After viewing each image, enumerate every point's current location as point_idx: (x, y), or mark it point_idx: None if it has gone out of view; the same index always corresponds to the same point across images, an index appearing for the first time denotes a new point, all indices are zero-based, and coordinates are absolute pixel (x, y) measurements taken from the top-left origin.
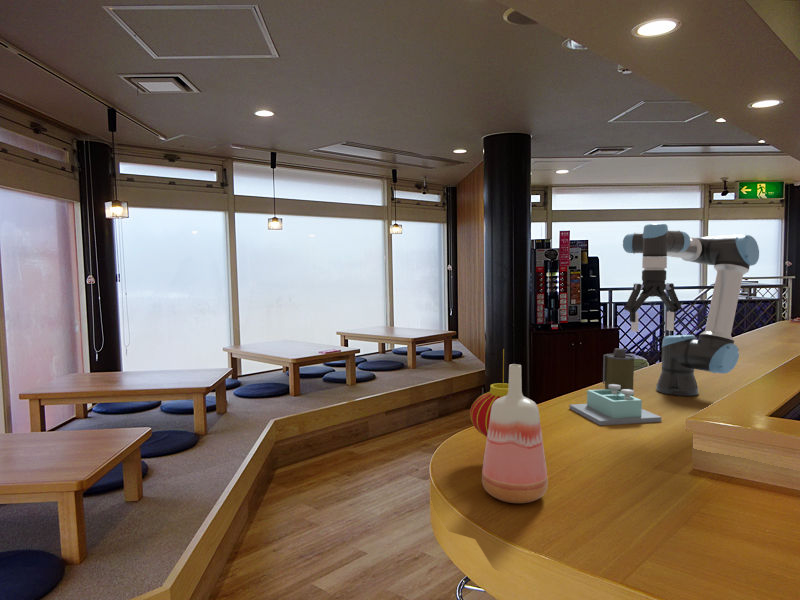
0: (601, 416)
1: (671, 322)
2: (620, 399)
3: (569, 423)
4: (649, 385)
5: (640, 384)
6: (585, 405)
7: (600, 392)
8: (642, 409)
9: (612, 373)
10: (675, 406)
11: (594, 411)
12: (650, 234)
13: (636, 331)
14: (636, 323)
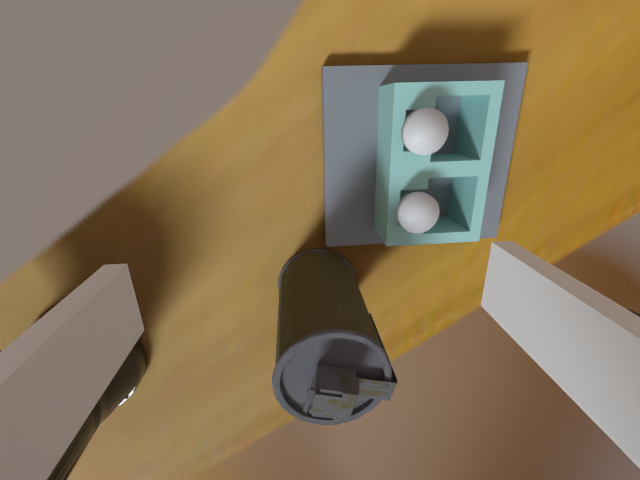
0: None
1: (78, 320)
2: None
3: (582, 100)
4: (136, 418)
5: (157, 428)
6: None
7: (438, 230)
8: (327, 159)
9: (368, 314)
10: (180, 216)
11: None
12: None
13: (508, 243)
14: (570, 279)
